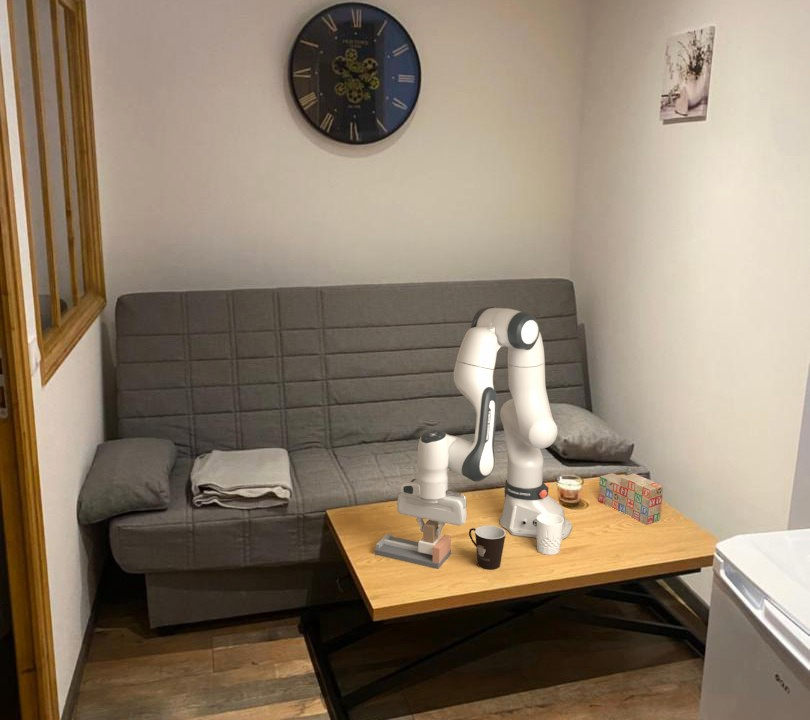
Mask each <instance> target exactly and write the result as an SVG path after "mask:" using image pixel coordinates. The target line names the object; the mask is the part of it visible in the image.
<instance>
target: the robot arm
mask: <svg viewBox="0 0 810 720" xmlns="http://www.w3.org/2000/svg"><path fill="white" fill-rule="evenodd" d="M470 324H471V325H470V328H469V329H468V330H467V331H466V333H465V335H464V337H463V339H462V342H461V344H460V347H459V350H458V353H457V356H456V361H455V365H454V370H453V383H454V385H455V387H456V389H457V390H458V391H459V393H460V394H461V395H462V396H463V397H464V398H466V399H467V400H468V401H469V402H470V403H471V404H472V406H473V408H474V410H475V415H476V418H475V429H474V441H473V442H472V441H469V440H466V438H465V439H464V438H463V437H459V436H457V435H456V436H455V435H450V434H448V433H446V432H445V431H443V430H441V429H440V430H439V429H432V430H428V431H425V432H424V433H422V434H421V435H420V438H419V440H418V445H417V450H416V451H417V454H416V465H417V474H416V477H410V478H408V479H406V480H405V481H404V482H403V483H402V484H401V485H400V487H399V488H400V489H399V491H400V493H399V494H398V497H397V501H396V510H397V512H398V514H400V515H404V516H409V517H414V518H416V521H417V523H418V525H419V527H420V529H419V531H420V532H421V533H423V527H424V524H425V523H426V522H424V519H425V520H427V521H428V520H432V521H437V522H439V526H438V527H437V528H436V529H435V535H438V536H440V537H441V534H442V533H443V532H442V530H443V527H444V526H445V525H446V524H447V525H448V524H449V525H453V526H458V527H461V526H462V525H463V524H464V523H465V522H466V521H467V508H466V507H467V501H468V500H467V497H466V496H465V495H463V493H462V492H456V491H451V490H448V488H449V486H448V485H449V475H448V473H449V472H454V473H456V474H459V475H461V476H463V477H464V478H467V479H469V480H471V481H473V482H480V481H483V480H484V479H486V478H488V477H489V476H490V475H491V474H492V472H493V471H494V467H495V459H496V458H495V457H496V456H495V440H496V439H495V437H496V428H497V417H498V400H499V399H498V394H497V392H496V390H495V388H494V371H495V368H496V363H497V362H496V361H497V356H498V355H497V354H498V351H499V350H500V349H501V348H502V347H507V376H508V377H507V381H508V382H507V383H508V389H509V392H510V394H511V395H510V396H511V398H510V399H508V400H507V401H505V402H504V403H503V405H502V406H501V408H500V412H499V418H500V421H501V423H502V427H503V432H504V440H505V445H506V447H505V448H506V453H507V465H506V466H507V467H506V468H507V469H506V471H507V472H506V479H505V483H504V504H503V509H502V512H501V515H500V519H499V524H500V525H501V527H503V529H506V530H507V531H508V532H509V533H510V535H512V536H516V537H517V536H518V537H525V538H527V537H528V538H535V539H537V537H536V529H537V528H536V527H537V516H538V515H540V514H544V513H552V514H556V515H559V516H561V517H562V518H563V519H564V524H563V533H562V540H564V539H566V538H567V537H568V536H570V534H571V533H572V530H573V523H572V522H571V521H570V520H569V519H566V515H565V509H564V507H563V506H562V505H561V504H560V503H559V502H557V501H556V499H553V497H551V496H550V494H549V488H550V484H549V483H548V484H547V485H546V484H545V482H544V481H543V477H544V462H545V461H544V456H543V453H542V451H541V450H542V449H546V448H549V447H550V446H552V445H553V444H554V442H555V441H556V440H557V436H558V432H559V431H558V426H557V424H556V422H555V419H554V418H553V415H552V409H551V406H550V401H549V397H548V392H547V388H546V387H547V386H546V358H545V349H544V343H543V338H542V333H541V331H540V324H539V322H538V319H537V318H536V316H534V315H532V314H530V313H529V312H526V311H520V310H517V309H514V308H513V309H512V308H506V307H505V308H503V307H495V306H486V307H482V308H479V310H477V312H476V313H475V314H474V316H473V318H472V321H471V323H470Z"/></svg>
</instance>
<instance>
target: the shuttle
mask: <svg viewBox="0 0 810 720" xmlns="http://www.w3.org/2000/svg"><path fill="white" fill-rule="evenodd" d="M424 523H425V524H424V527H423V532H422V535H423V536H422V538H420V540H419V541H418V542H419V544H418V552H422V553H426V554H430V555H433V547H434V545H435V544H436V543H437V542H438V541H439V540H440V539H441V538H442V537H443V536H441V535H440V536H439V535H435V529H436V528H437V527H440V525H439V522H438V521H433V520H428V519H427V521H426V522H424Z"/></svg>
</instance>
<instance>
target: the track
mask: <svg viewBox="0 0 810 720" xmlns="http://www.w3.org/2000/svg"><path fill="white" fill-rule="evenodd" d="M441 537H442V538H441V539H440V540H439V541H438V542H437V543H436V544H435V545H434V547H433V555H430V554H426V553H422V552H418V544H419V541H415V540H410V539H407V538H401V537H397V536H394V535H393V536H392V534H391V533H386V534H385V535H384V536H383V537H382V538H381V539H380V540H379V541H378V542H376V544H375V548H374V550H373V552H374V553H373V555H377V556H380V557H383V558H389V559H393V560H397V561H402V562H407V563H411V564H414V565H418V566H419V565H420V566H424V567H427V568H432V569H437V570H439V569H440V567H442V565H443V564H444V563H446V561H447V559H448V558H449V557H450V556H451V555H452V549H451V547H452V539H451V538H452V535H449V534H443V536H441Z"/></svg>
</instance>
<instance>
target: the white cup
mask: <svg viewBox="0 0 810 720" xmlns="http://www.w3.org/2000/svg"><path fill="white" fill-rule="evenodd" d="M563 524H564V519H563V518H562V517H561V516H559V515H556V514H552V513H544V514H540V515H538V516H537V527H536V528H537V529H536V537H537V538H536V550H537V552H539V553H540V554H543V555H545V556H547V555H548V556H554V555H558V554H559V553H560V551H561V543H562V540H563V539H562V533H563Z"/></svg>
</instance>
